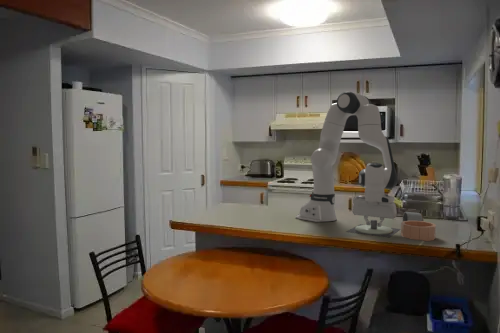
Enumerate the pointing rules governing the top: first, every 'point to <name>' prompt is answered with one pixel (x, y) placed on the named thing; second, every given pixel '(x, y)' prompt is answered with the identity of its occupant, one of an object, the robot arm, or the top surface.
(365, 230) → the lid
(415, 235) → the bowl
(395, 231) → the mat
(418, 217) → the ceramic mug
